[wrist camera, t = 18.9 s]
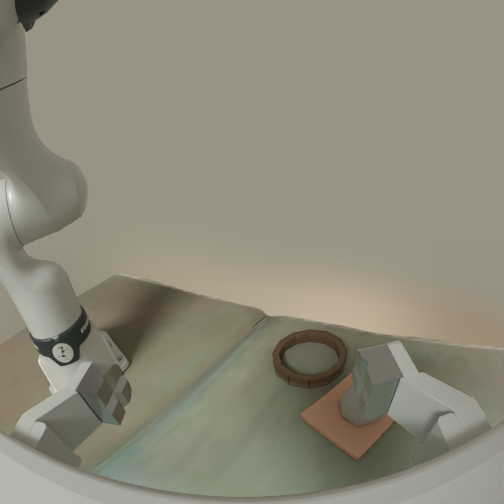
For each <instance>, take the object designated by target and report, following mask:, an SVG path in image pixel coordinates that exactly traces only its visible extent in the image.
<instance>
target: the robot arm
mask: <svg viewBox="0 0 504 504" xmlns="http://www.w3.org/2000/svg"><path fill="white" fill-rule="evenodd" d="M57 1H58V0H0V173H1V174H2V175H4V176H5V177H6V178H4V179H2V180H0V284H1V285H2V286H3V288H4V289H5V290H6V291H7V293H8V294H9V295H10V297H11V299H12V300H13V302H14V304H15V306H16V307H17V309H18V311H19V313H20V315H21V316H22V318H23V320H24V322H25V324H26V326H27V328H28V329H29V331H30V337H31V339H32V342H33V344H34V346H35V347H36V348H37V350H38V352H39V353H40V354H39V359H38V362H39V364H40V366H41V368H42V370H43V371H44V373H45V375H46V376H47V378H48V380H49V381H50V387H49V390H50V392H51V394H52V396H50V397H48V398H47V399H45V400H44V401H42V402H41V403H39V404H37V405H36V406H34V407H33V408H31V409H30V410H28V411H26V412H25V413H23V415H22V416H21V418H20V420H19V421H18V423H17V425H16V427H15V428H14V430H13V432H12V434H11V435H10V436H9V435H8V434H6V433H4V432H3V431H1V430H0V504H504V421H503V422H501V423H499V424H498V425H496V426H495V427H493V428H492V427H491V425H490V424H489V422H488V420H487V418H486V416H485V414H484V413H483V411H482V409H481V407H480V406H479V404H478V402H477V401H476V399H474V398H472V397H470V396H468V395H466V394H464V393H462V392H460V391H458V390H456V389H454V388H452V387H450V386H449V385H447V384H445V383H443V382H441V381H439V380H437V379H435V378H433V377H431V376H430V375H428V374H426V373H424V372H421V373H419V372H418V370H417V368H416V367H415V365H414V363H413V361H412V360H411V358H410V356H409V355H408V353H407V351H406V350H405V348H404V346H403V345H402V343H401V342H400V341H399V340H397V341H393V342H389V343H385V344H381V345H376V346H371V347H367V348H362V349H357V350H356V352H355V357H354V359H355V362H356V365H355V366H354V367H353V370H352V382H353V387H354V391H355V393H356V394H357V395H359V396H360V399H359V403H358V404H359V407H360V410H361V413H362V416H363V418H368V417H372V416H377V415H381V414H385V413H387V415H389V416H390V417H391V418H392V419H393V420H395V421H396V422H397V423H398V424H400V425H401V426H402V427H403V428H404V429H406V430H407V431H408V432H409V433H411V434H412V435H413V436H414V437H416V438H417V439H418V440H419V441H421V442H422V444H421V445H420V446H419V448H418V449H417V451H416V452H415V453H414V455H413V456H412V459H413V462H414V465H415V466H414V467H411V468H408V469H405V470H403V471H400V472H397V473H394V474H390V475H387V476H384V477H381V478H377V479H374V480H370V481H366V482H362V483H358V484H354V485H349V486H345V487H340V488H335V489H329V490H323V491H317V492H310V493H302V494H293V495H281V496H264V497H223V496H206V495H195V494H186V493H178V492H171V491H165V490H159V489H153V488H148V487H143V486H139V485H134V484H130V483H126V482H122V481H118V480H114V479H111V478H107V477H104V476H101V475H98V474H95V473H92V472H89V471H86V470H83V469H80V468H79V466H80V463H81V459H80V457H79V456H78V455H76V454H75V453H74V452H73V451H74V450H75V449H76V448H77V447H78V446H79V445H80V444H81V443H82V442H83V441H84V440H85V439H86V438H87V437H89V436H90V435H91V434H92V433H93V432H94V431H95V430H96V429H97V428H98V427H99V426H100V425H101V424H102V423H108V424H114V425H121V422H122V420H123V417H124V415H125V409H124V407H125V406H126V405H127V404H128V403H129V402H130V399H131V386H130V384H129V382H128V380H127V379H126V378H124V377H123V376H122V372H123V371H124V370H125V369H126V368H127V367H128V366H129V362H128V360H127V359H126V357H125V356H124V355H123V354H122V352H121V351H120V350H119V348H118V347H117V346H116V344H115V343H114V342H113V341H112V339H111V338H110V336H109V335H108V334H107V332H106V331H98V329H97V328H96V326H95V325H94V323H93V322H92V321H91V320H89V318H88V315H87V313H86V311H85V310H84V309H83V307H82V306H81V305H79V302H78V300H77V297H76V295H75V293H74V290H73V288H72V285H71V283H70V280H69V277H68V274H67V273H66V271H65V270H64V269H63V268H62V267H61V266H60V265H58V264H57V263H55V262H52V261H47V260H38V259H34V258H32V257H31V256H29V255H28V254H27V253H26V252H25V250H24V249H23V246H24V245H25V244H27V243H30V242H33V241H35V240H37V239H40V238H42V237H45V236H47V235H50V234H52V233H55V232H57V231H59V230H61V229H63V228H64V227H66V226H67V225H69V224H71V223H72V222H74V221H75V220H77V219H78V218H80V217H81V216H82V214H83V212H84V210H85V207H86V204H87V198H88V188H87V183H86V179H85V177H84V175H83V173H82V171H81V170H80V169H79V167H78V166H77V165H76V164H74V163H73V162H71V161H70V160H67V159H64V158H62V157H60V156H58V155H56V154H54V153H53V152H51V151H50V150H49V149H48V148H47V147H46V146H45V145H44V144H43V143H42V141H41V140H40V139H39V137H38V135H37V133H36V131H35V129H34V126H33V123H32V118H31V113H30V107H29V100H28V89H27V77H26V76H27V61H26V46H25V34H24V29H25V31H26V32H27V31H29V30H30V29H32V27H33V25H34V23H35V20H37V19H38V18H40V17H41V16H43V15H44V14H46V13H47V12H48V11H49V10H50V8H51V7H52V6H53V5H54V4H55V3H56V2H57Z"/></svg>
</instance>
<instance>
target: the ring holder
mask: <svg viewBox="0 0 504 504" xmlns="http://www.w3.org/2000/svg"><path fill="white" fill-rule="evenodd" d="M309 341H311V342H318V343H324V344H326V345H328V346H329V347H331V348H333V349H334V350H335V351H336V353H337V355H338V357H339V359H338V363H337V364H335V365H334V366H333V367H332V368H330V369H329V370H328V371H327V372H323V373H319V374H315V375H310V376H308V375H302V374H297V373H292V372H291V371H290V370H288V369H287V368H286V367H284V366H283V365H282V364H281V361H280V359H281V357H282V355H283V353H284V352H285V351H286V350H287V349H289V348H291V347H292V346H294V345H295V344H299V343H304V342H309ZM346 353H347V352H346V349H345V347H344V345H343V343H342V341H341V340H340V339H339V338H337V337H335V336H334V335H332V334H330V333H328V332H327V333H326V332H325V331H317V330H305V331H300V332H295V333H292V334H290V335H289V336H287V337H285V338H284V339H282V340H280V342H278V344H277V346H276V348H275V350H274V351H273V362H274V367H275V371H276V374H277V375H278V376H279V377H280V378H281V379H282V380H284V381H285V382H286V383H287V384H290V385H292V386H297V387H302V388H314V387H319V386H323V385H327V384H328V383H331V382H332V381H333V380H334V379H336V378H337V377H338V376H339V375H340V374H342V372H343V368H344V364H345V361H346Z"/></svg>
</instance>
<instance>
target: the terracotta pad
mask: <svg viewBox="0 0 504 504" xmlns="http://www.w3.org/2000/svg"><path fill="white" fill-rule="evenodd" d="M352 384H353V382H352V372H351V373H350V374H349V375H348V376H347V377H346V378H345V379H343V380H342V381H341V382H340V383H339V384H338V385H336V386H335V387H334V388H333V389H332V390H330V391H329V392H328V393H327V394H325V395H324V396H323V397H322V398H320V399H319V400H318V401H317V402H315V403H314V404H313V405H311V406H310V407H309V408H307V409H306V410H305V411H303V412H302V413H301V414H300V417H301V418H302V419H303V420H304V421H306V422H307V423H308V424H309V425H311V426H312V427H313V428H314V429H316V430H317V431H318V432H319V433H321V434H322V435H323V436H325V437H326V438H327V439H328V440H330V441H331V442H332V443H334V444H335V445H336V446H338V447H339V448H340V449H342V450H343V451H344V452H346V453H347V454H349V455H350V456H351V457H353V458H354V459H356V460H359V459H360V458H361V457H362V456H363V455H364V454H365V453H366V452H367V451H368V450H369V449H370V448H371V447H372V446H373V444H374V443H375V442H376V441H377V440H378V439H379V438H380V437H381V436H382V435H383V434H384V433H385V432H386V430H387V429H388V428H389V427H390V426H391V425H392V424H393V422H394V421H395V420H393V419H392V418H391V417H390V416H389V415H387V413H385V414H384V415H383V416H382V417H381V418H380V419H379V420H378V421H377V422H374V423H370V424H365V425H361V426H356V425H354V424H353V423H351V422H350V421H348V420H347V419H345V418H344V417H342V415H341V411H340V407H339V403H338V400H339V399H340V397H341V396H342V395H343V394H344V393H345V392H346V391H347V390H348V389H349V387H350V386H351V385H352Z"/></svg>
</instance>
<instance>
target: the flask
mask: <svg viewBox="0 0 504 504" xmlns="http://www.w3.org/2000/svg"><path fill="white" fill-rule="evenodd" d="M359 399H360V396H359V395H357V394H356V393H355V391H354V387H353V384H352V385H351V386H350V387H349V389H348V390H347V391H346V392H345V393H344V394H343V395H342V396H341V397H340V399H339V400H338V403H339V407H340V411H341V415H342V417H344V418H345V419H347V420H348V421H350V422H351V423H353V424H354V425H356V426H361V425H365V424H370V423H374V422H377V421H378V420H379V419H380V418H381V417H382V416H383V415H384V414H381V415H377V416H372V417H368V418H363V416H362V413H361V410H360V407H359V404H358V403H359Z"/></svg>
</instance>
